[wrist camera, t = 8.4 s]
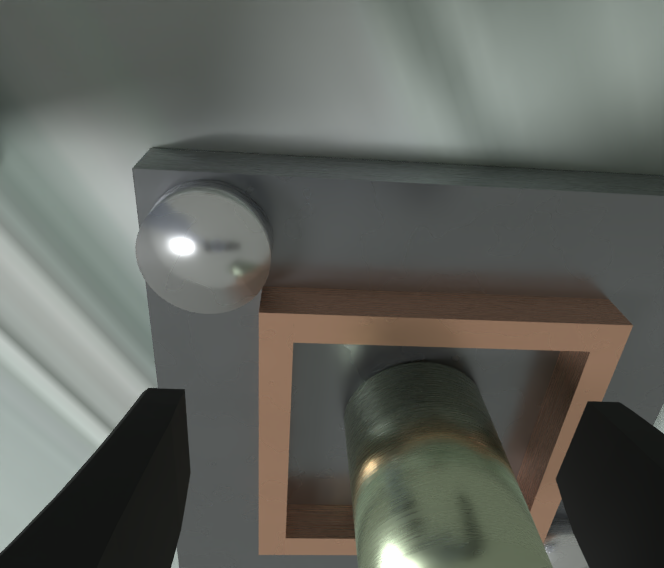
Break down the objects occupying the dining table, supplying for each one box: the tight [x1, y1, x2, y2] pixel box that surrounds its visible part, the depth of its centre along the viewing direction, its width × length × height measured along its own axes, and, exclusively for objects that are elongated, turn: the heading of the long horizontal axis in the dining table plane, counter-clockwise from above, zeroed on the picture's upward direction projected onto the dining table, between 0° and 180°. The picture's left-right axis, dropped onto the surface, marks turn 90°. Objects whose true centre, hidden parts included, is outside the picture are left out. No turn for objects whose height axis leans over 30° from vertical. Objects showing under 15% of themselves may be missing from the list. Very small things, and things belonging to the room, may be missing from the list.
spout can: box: [344, 362, 553, 568], centre depth 16 cm, size 5×5×8 cm
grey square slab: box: [132, 148, 664, 568], centre depth 20 cm, size 18×18×4 cm
